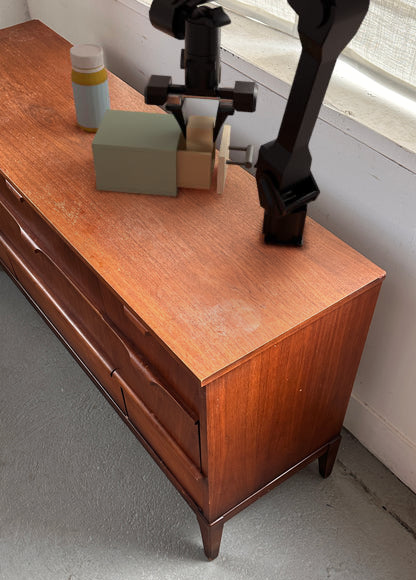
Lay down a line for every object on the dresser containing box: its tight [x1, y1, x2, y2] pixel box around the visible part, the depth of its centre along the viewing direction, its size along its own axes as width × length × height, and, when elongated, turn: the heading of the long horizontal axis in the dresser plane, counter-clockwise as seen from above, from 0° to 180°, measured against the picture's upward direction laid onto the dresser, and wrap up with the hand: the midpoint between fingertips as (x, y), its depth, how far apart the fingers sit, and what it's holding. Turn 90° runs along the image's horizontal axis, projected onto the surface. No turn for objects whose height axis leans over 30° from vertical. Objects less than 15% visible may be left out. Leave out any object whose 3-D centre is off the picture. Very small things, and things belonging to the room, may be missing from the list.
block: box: [187, 114, 216, 153], centre depth 111 cm, size 4×4×4 cm
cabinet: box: [91, 109, 182, 197], centre depth 115 cm, size 15×13×9 cm
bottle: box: [69, 43, 112, 134], centre depth 124 cm, size 7×7×15 cm
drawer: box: [176, 124, 255, 195], centre depth 114 cm, size 18×11×7 cm, turn 84°
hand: (200, 140), depth 112 cm, fingers closed on block, 4 cm apart
